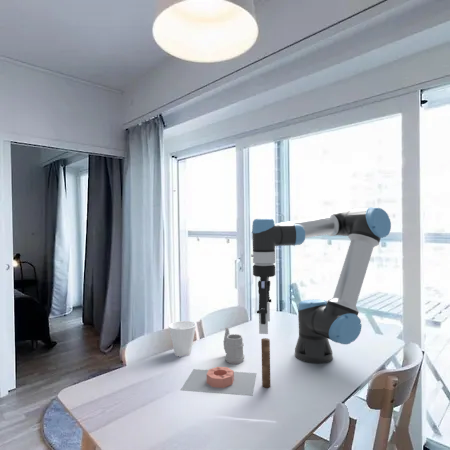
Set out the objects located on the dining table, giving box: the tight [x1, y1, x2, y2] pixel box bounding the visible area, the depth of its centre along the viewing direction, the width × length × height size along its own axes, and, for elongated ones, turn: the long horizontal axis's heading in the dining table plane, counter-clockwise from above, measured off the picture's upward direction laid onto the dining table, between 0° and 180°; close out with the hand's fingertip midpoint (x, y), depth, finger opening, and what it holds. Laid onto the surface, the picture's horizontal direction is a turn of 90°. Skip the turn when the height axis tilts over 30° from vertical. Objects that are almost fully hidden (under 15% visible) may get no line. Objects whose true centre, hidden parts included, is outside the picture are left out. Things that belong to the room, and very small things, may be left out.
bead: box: [207, 366, 235, 388], centre depth 113 cm, size 9×9×3 cm
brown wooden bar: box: [260, 337, 271, 389], centre depth 110 cm, size 3×3×16 cm
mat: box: [180, 368, 257, 397], centre depth 113 cm, size 24×16×1 cm, turn 80°
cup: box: [168, 320, 197, 358], centre depth 140 cm, size 12×12×12 cm
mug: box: [223, 326, 245, 365], centre depth 133 cm, size 8×12×12 cm, turn 31°
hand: (264, 327), depth 110 cm, fingers open, 13 cm apart
